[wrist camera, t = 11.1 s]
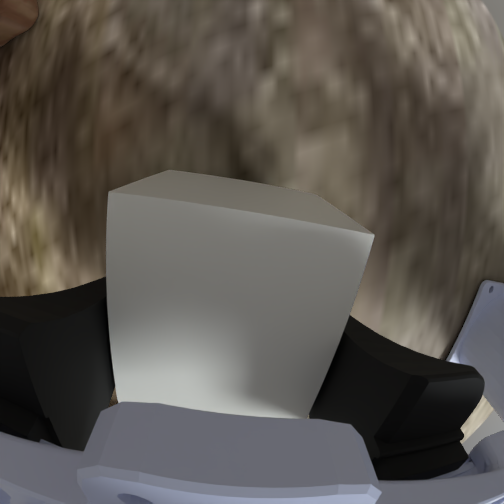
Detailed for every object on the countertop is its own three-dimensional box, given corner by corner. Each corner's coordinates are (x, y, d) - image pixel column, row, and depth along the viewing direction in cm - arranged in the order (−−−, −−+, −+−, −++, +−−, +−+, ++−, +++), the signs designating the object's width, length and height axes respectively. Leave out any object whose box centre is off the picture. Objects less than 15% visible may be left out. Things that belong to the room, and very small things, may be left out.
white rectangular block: (315, 193, 12) (374, 235, 6) (271, 368, 15) (283, 463, 9) (169, 169, 11) (108, 191, 6) (156, 352, 14) (126, 443, 9)
